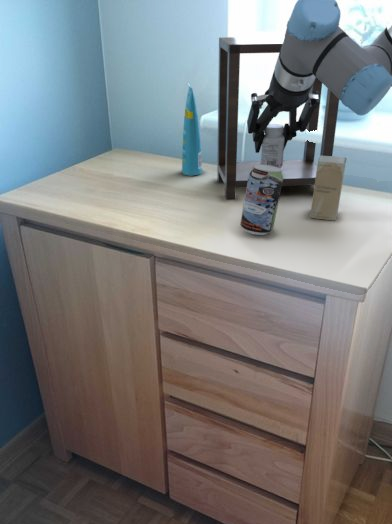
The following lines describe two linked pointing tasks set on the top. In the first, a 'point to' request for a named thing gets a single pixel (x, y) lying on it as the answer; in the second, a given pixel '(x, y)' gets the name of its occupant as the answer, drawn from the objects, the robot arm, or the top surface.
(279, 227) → the top surface
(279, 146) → the pill bottle
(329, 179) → the box
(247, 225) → the beverage can
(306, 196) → the top surface
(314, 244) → the top surface
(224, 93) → the rack
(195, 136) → the tube
